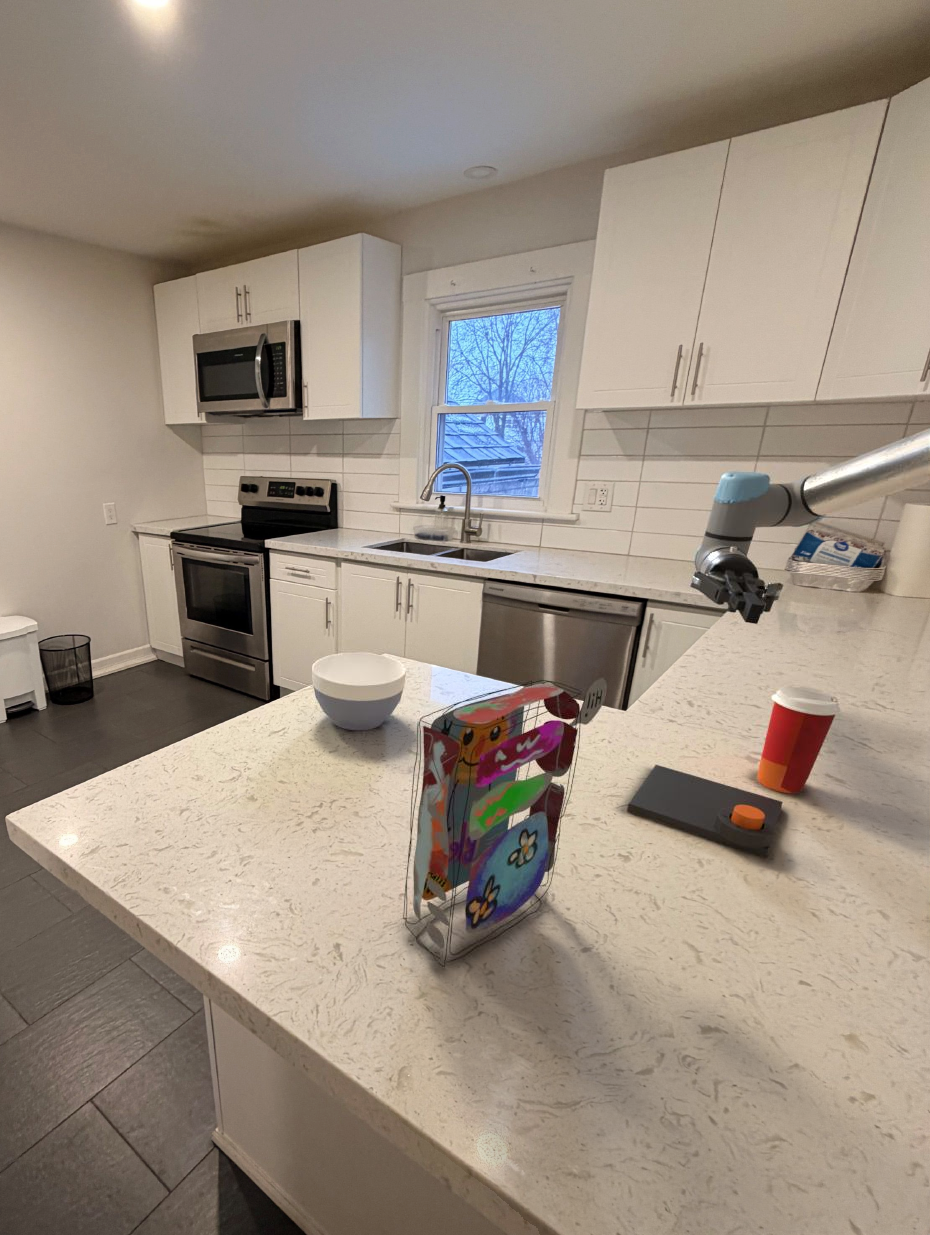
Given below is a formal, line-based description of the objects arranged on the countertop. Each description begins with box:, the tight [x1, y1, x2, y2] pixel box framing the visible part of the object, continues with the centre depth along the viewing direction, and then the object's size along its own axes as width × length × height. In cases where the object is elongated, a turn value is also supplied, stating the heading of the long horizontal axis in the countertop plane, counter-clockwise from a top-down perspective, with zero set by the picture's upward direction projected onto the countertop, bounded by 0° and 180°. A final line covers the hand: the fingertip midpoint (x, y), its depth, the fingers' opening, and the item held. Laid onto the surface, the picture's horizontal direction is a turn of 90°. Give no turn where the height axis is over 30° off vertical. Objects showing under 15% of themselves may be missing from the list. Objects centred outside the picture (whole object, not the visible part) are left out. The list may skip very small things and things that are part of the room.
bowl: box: [311, 652, 407, 731], centre depth 110 cm, size 16×16×10 cm
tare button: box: [731, 805, 765, 830], centre depth 79 cm, size 3×3×2 cm
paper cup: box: [756, 685, 841, 794], centre depth 90 cm, size 8×8×14 cm
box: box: [402, 677, 608, 968], centre depth 65 cm, size 25×6×24 cm, turn 126°
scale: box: [626, 764, 783, 859], centre depth 85 cm, size 16×15×3 cm
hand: (754, 613), depth 90 cm, fingers closed
